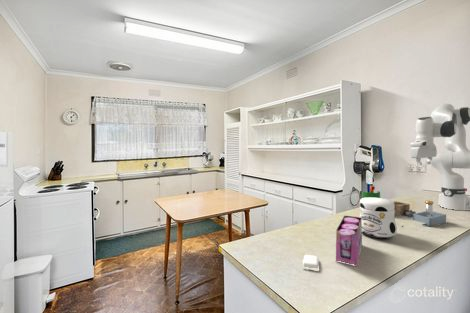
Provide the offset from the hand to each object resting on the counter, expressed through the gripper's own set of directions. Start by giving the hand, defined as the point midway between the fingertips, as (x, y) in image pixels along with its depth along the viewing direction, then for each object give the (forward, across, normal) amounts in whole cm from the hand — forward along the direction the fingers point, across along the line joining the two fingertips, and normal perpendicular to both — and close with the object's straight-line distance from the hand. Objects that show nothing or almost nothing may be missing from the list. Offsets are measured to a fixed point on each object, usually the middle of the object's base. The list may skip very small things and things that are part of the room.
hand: (424, 164), depth 146 cm
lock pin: (+32, +10, +8) cm, 35 cm away
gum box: (+33, +81, +16) cm, 89 cm away
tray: (+33, +10, +8) cm, 35 cm away
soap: (+33, +104, +17) cm, 110 cm away
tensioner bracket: (+33, +11, -6) cm, 35 cm away
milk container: (+33, +52, +7) cm, 62 cm away
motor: (+33, +26, -16) cm, 45 cm away
